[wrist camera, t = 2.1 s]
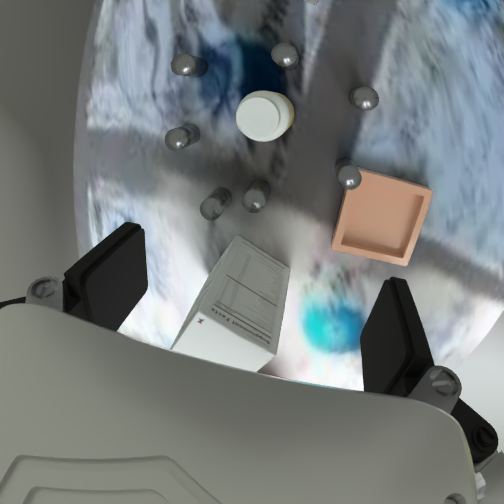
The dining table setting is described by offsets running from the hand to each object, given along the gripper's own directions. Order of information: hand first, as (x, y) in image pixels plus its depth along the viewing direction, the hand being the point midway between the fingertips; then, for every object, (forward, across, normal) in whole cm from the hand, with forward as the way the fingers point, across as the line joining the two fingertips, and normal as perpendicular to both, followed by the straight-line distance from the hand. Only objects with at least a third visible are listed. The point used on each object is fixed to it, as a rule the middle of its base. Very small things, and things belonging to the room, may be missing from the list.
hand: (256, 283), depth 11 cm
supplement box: (+29, +4, +19) cm, 35 cm away
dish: (+28, -12, +6) cm, 31 cm away
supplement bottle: (+29, +4, -4) cm, 29 cm away
